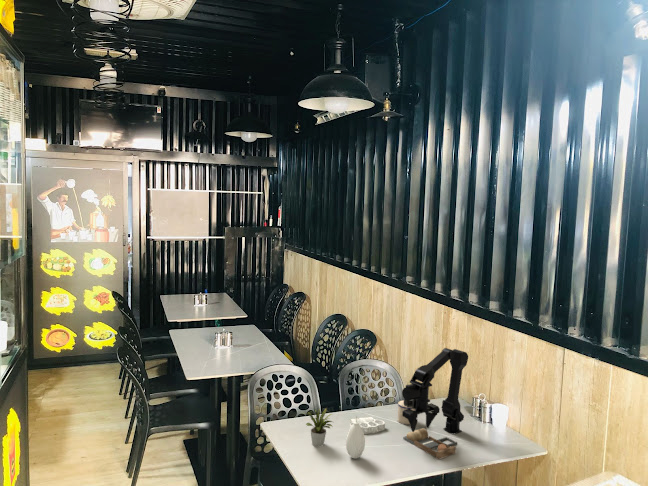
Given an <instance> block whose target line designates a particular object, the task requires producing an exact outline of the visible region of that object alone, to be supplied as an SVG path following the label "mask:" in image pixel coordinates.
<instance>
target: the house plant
mask: <svg viewBox="0 0 648 486" xmlns="http://www.w3.org/2000/svg"><path fill="white" fill-rule="evenodd" d="M327 409H328V408H327V407H326V408H325V409H324V410H323V411H322V412H321V414H320V410H321V408H319V409H318V411H317V410H316V409H315V410H314V411H315V414H312V413H313V411H312V410H310V412H309V411H308V412H307V413H305V412H303V413H302V414H303V415H304V414H305V415H308V416H309V417H310V419H311V421H312V422H313V424H314V425H313V424H312V423H310V422H307V423H305V425H306V427H312V428H310V437H311V445H312V446H314V447H315V448H317V447H319V448H320V447H323V446H324V443H325V439H326V435H327V430H326V429H331V427H333V425H332V424H330V423H333V421H332V420H329V419H330V418H329V417H330V416H331V415H333V413H331V414H330V413H329V415H327V416H326V417H325V415H326V413H327V411H328V410H327Z"/></svg>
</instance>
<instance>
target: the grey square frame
mask: <svg viewBox="0 0 648 486" xmlns="http://www.w3.org/2000/svg"><path fill="white" fill-rule="evenodd" d="M437 440H438V441H440V442H442V443H444V444H446V445H448V446H450V447H451V446H455V445H458V442H457V441H455V440H453V439H451V438H449V437H447V436H445V437H443V438H438V439H437ZM445 441H448V442H450V443H449V444H447V443H445Z"/></svg>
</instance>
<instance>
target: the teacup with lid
mask: <svg viewBox="0 0 648 486" xmlns="http://www.w3.org/2000/svg"><path fill="white" fill-rule="evenodd" d="M407 409H411V410H413V411H415V409H412V407H407V406H404V399H403V400H399V401H398V402H397V422H398V423H400V424H402V425H410V423H409V421H408V419H407V418H405V417H403V416H402V414H403V411H404V410H407Z"/></svg>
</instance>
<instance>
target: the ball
mask: <svg viewBox="0 0 648 486" xmlns="http://www.w3.org/2000/svg"><path fill="white" fill-rule="evenodd" d="M445 448H447V447H446V445H444V444H440V445H439V446H438V447H437V451H439V450H442V449H445Z"/></svg>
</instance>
